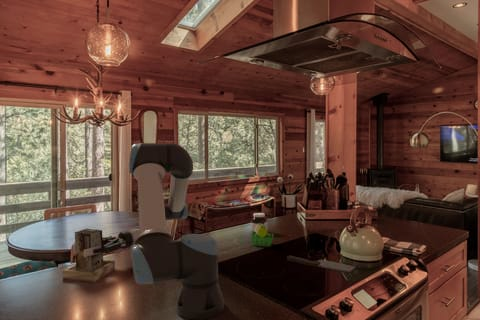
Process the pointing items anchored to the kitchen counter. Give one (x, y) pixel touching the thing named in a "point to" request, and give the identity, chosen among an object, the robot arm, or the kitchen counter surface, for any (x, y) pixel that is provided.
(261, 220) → the spread jar
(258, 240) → the fruit basket
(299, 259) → the cleaver
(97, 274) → the box
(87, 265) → the coffee box
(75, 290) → the kitchen counter surface
